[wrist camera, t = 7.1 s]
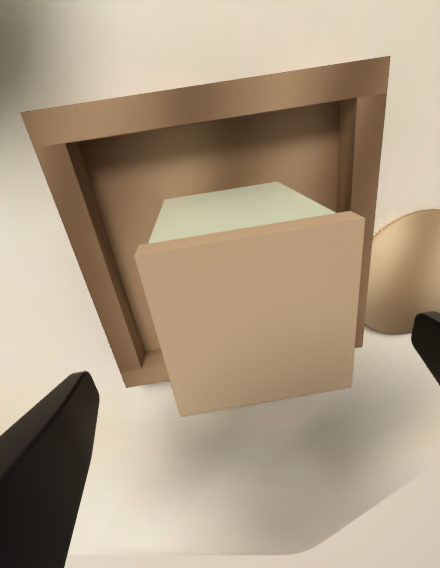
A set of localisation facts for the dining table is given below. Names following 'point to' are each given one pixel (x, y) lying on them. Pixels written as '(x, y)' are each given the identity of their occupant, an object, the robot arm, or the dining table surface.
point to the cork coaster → (404, 272)
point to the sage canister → (252, 295)
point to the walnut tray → (204, 172)
